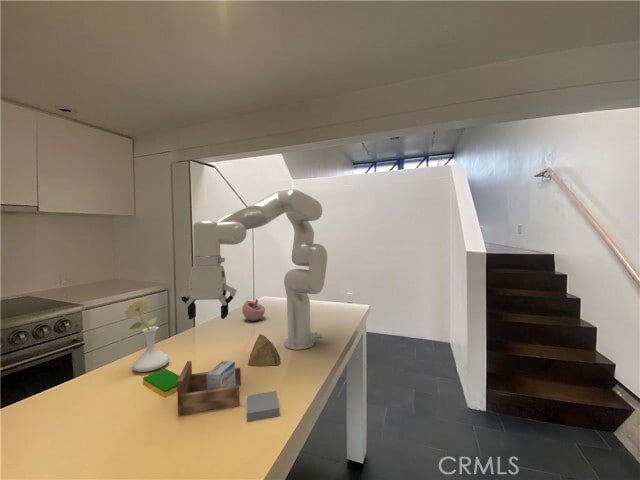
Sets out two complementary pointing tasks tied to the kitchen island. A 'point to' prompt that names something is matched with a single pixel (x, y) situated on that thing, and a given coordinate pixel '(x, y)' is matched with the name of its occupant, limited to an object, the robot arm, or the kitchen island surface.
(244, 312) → the red apple
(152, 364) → the flower in vase
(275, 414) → the plinth
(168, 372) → the dish sponge
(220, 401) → the rack
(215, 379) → the medicine box
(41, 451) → the kitchen island surface
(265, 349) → the rock
